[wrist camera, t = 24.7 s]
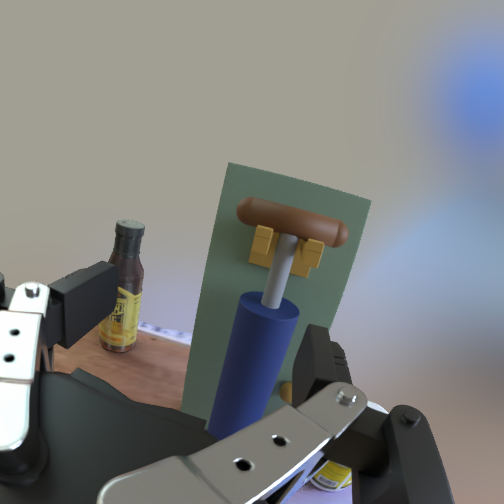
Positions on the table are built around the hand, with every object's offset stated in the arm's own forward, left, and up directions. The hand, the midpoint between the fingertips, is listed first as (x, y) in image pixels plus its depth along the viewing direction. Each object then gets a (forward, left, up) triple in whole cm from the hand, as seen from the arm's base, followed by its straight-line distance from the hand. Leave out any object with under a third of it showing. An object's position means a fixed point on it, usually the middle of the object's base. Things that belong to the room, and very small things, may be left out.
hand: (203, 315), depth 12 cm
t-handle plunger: (+4, +10, -18) cm, 21 cm away
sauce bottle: (-15, +27, -24) cm, 39 cm away
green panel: (+4, +13, -24) cm, 27 cm away
